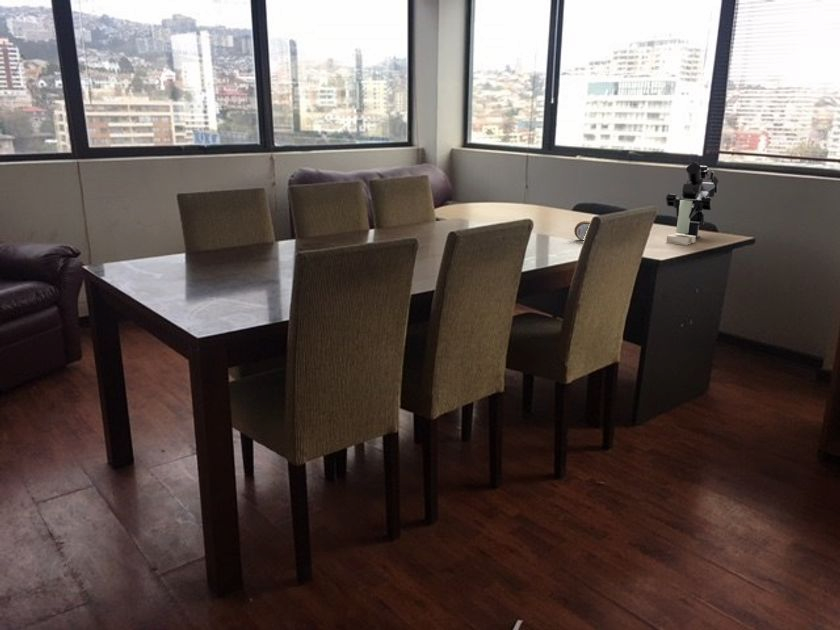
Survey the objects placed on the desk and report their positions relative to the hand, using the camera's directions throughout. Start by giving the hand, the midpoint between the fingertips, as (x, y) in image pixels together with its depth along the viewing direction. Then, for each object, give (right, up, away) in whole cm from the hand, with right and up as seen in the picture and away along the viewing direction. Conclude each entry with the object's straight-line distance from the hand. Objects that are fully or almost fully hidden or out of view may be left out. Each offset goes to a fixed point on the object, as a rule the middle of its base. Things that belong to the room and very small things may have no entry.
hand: (683, 216), depth 299 cm
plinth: (+1, -11, +4) cm, 12 cm away
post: (+1, -6, +3) cm, 7 cm away
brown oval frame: (-39, -10, +4) cm, 41 cm away
